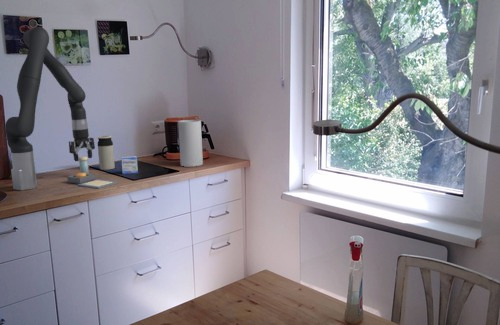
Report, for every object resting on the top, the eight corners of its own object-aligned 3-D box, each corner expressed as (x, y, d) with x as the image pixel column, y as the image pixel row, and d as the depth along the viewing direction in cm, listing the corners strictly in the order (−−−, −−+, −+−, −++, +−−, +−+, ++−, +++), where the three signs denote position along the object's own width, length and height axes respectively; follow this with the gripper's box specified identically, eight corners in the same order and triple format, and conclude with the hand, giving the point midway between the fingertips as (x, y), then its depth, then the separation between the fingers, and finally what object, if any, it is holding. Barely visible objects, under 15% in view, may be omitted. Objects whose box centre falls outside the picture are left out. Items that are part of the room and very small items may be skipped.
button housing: (80, 184, 219) (79, 178, 219) (67, 182, 224) (67, 176, 223) (95, 180, 227) (94, 174, 226) (82, 178, 231) (82, 172, 231)
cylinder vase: (197, 167, 251) (195, 122, 247) (176, 166, 255) (174, 122, 251) (206, 163, 263) (204, 119, 258) (186, 162, 267) (184, 119, 262)
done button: (80, 179, 221) (80, 175, 221) (73, 178, 224) (73, 174, 224) (88, 176, 226) (88, 173, 225) (81, 176, 228) (81, 172, 228)
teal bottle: (84, 177, 234) (82, 158, 232) (78, 176, 236) (76, 157, 234) (91, 175, 238) (89, 156, 236) (85, 175, 240) (83, 156, 238)
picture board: (98, 188, 210) (98, 187, 210) (77, 185, 217) (77, 184, 216) (117, 183, 220) (117, 181, 220) (97, 180, 227) (97, 179, 227)
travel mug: (117, 167, 258) (115, 135, 254) (109, 170, 250) (106, 137, 247) (105, 167, 260) (102, 135, 256) (96, 170, 252) (94, 137, 249)
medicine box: (122, 174, 239) (121, 158, 238) (122, 172, 244) (121, 156, 242) (137, 173, 241) (136, 157, 240) (137, 171, 246) (136, 155, 244)
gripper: (73, 130, 224) (77, 162, 228) (96, 126, 237) (99, 157, 240) (63, 129, 228) (67, 161, 231) (86, 126, 240) (89, 156, 244)
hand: (83, 159), depth 236 cm, fingers open, 8 cm apart
